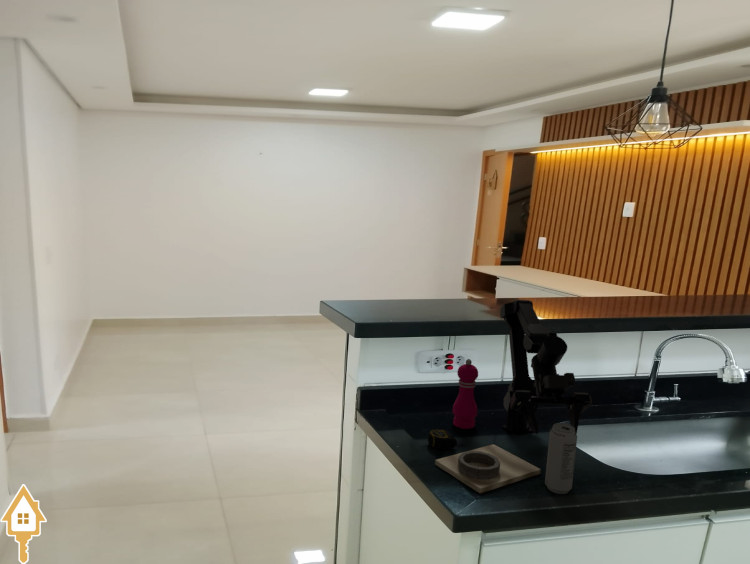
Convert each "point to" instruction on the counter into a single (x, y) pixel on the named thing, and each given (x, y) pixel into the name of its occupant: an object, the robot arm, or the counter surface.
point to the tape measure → (441, 439)
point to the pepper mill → (466, 397)
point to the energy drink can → (561, 458)
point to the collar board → (506, 469)
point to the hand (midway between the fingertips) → (556, 434)
